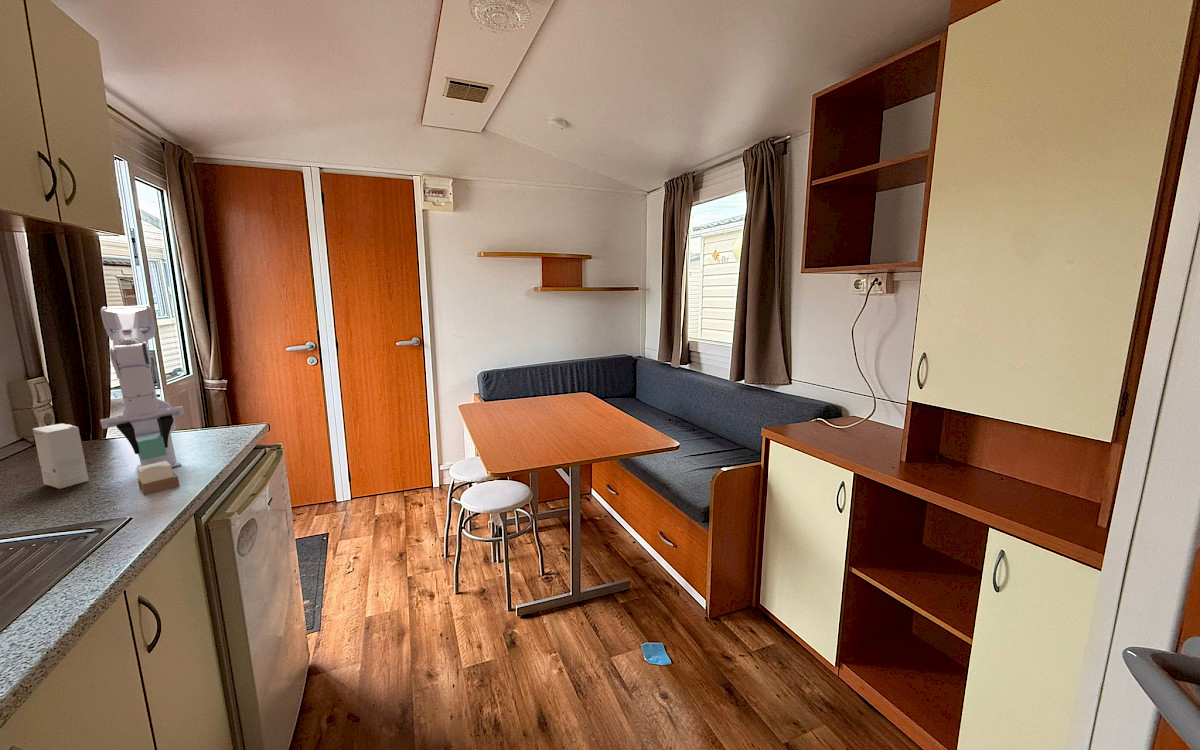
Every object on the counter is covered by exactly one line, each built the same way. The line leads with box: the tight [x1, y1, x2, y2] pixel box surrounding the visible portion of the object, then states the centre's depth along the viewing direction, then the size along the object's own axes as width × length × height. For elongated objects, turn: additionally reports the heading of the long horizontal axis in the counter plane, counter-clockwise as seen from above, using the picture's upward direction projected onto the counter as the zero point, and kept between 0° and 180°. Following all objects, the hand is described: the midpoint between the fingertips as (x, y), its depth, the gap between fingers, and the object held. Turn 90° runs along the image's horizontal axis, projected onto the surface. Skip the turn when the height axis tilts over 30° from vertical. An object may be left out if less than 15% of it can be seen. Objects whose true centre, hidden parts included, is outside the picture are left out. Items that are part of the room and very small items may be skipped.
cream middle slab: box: [135, 461, 173, 484], centre depth 120 cm, size 6×6×3 cm
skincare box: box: [32, 423, 90, 490], centre depth 125 cm, size 8×6×15 cm
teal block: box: [136, 434, 167, 460], centre depth 119 cm, size 4×4×4 cm
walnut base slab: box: [137, 470, 181, 496], centre depth 121 cm, size 6×6×3 cm
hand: (151, 449), depth 119 cm, fingers closed on teal block, 4 cm apart
